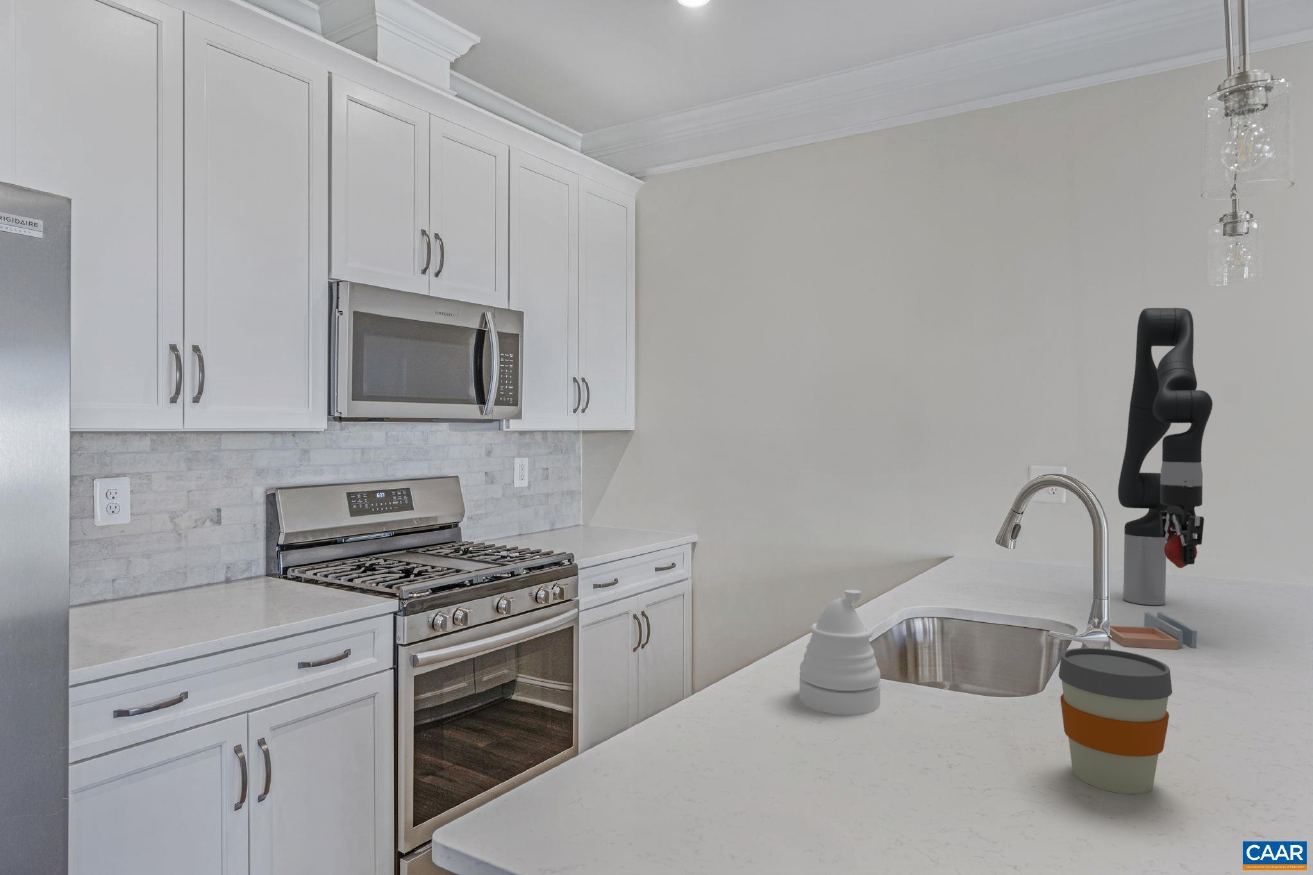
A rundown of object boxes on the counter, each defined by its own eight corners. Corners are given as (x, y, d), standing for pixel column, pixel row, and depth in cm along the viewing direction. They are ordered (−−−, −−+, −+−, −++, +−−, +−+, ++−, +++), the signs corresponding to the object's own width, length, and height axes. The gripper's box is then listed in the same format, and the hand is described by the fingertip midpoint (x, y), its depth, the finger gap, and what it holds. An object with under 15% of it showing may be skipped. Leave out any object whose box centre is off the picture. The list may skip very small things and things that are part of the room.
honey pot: (880, 691, 133) (881, 585, 132) (880, 718, 120) (881, 601, 120) (802, 684, 136) (804, 580, 136) (795, 709, 124) (796, 596, 123)
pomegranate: (1186, 566, 171) (1186, 529, 171) (1202, 570, 166) (1203, 532, 166) (1158, 565, 172) (1159, 528, 172) (1174, 569, 166) (1174, 532, 166)
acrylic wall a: (1156, 627, 176) (1157, 612, 176) (1160, 627, 176) (1161, 612, 176) (1192, 647, 161) (1192, 630, 161) (1196, 647, 160) (1196, 630, 160)
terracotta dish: (1104, 633, 171) (1104, 625, 171) (1155, 636, 169) (1155, 627, 169) (1123, 646, 161) (1123, 637, 161) (1178, 649, 159) (1178, 640, 159)
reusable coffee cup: (1042, 776, 101) (1044, 660, 101) (1075, 748, 110) (1077, 641, 109) (1155, 811, 92) (1157, 684, 92) (1181, 778, 101) (1183, 662, 100)
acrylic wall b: (1144, 628, 176) (1144, 612, 176) (1148, 628, 176) (1148, 612, 176) (1178, 648, 160) (1178, 630, 160) (1182, 648, 160) (1182, 631, 160)
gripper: (1146, 481, 176) (1145, 556, 176) (1179, 484, 162) (1178, 566, 162) (1183, 481, 175) (1182, 557, 175) (1219, 485, 161) (1218, 567, 161)
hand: (1180, 561), depth 169 cm, fingers closed on pomegranate, 6 cm apart
